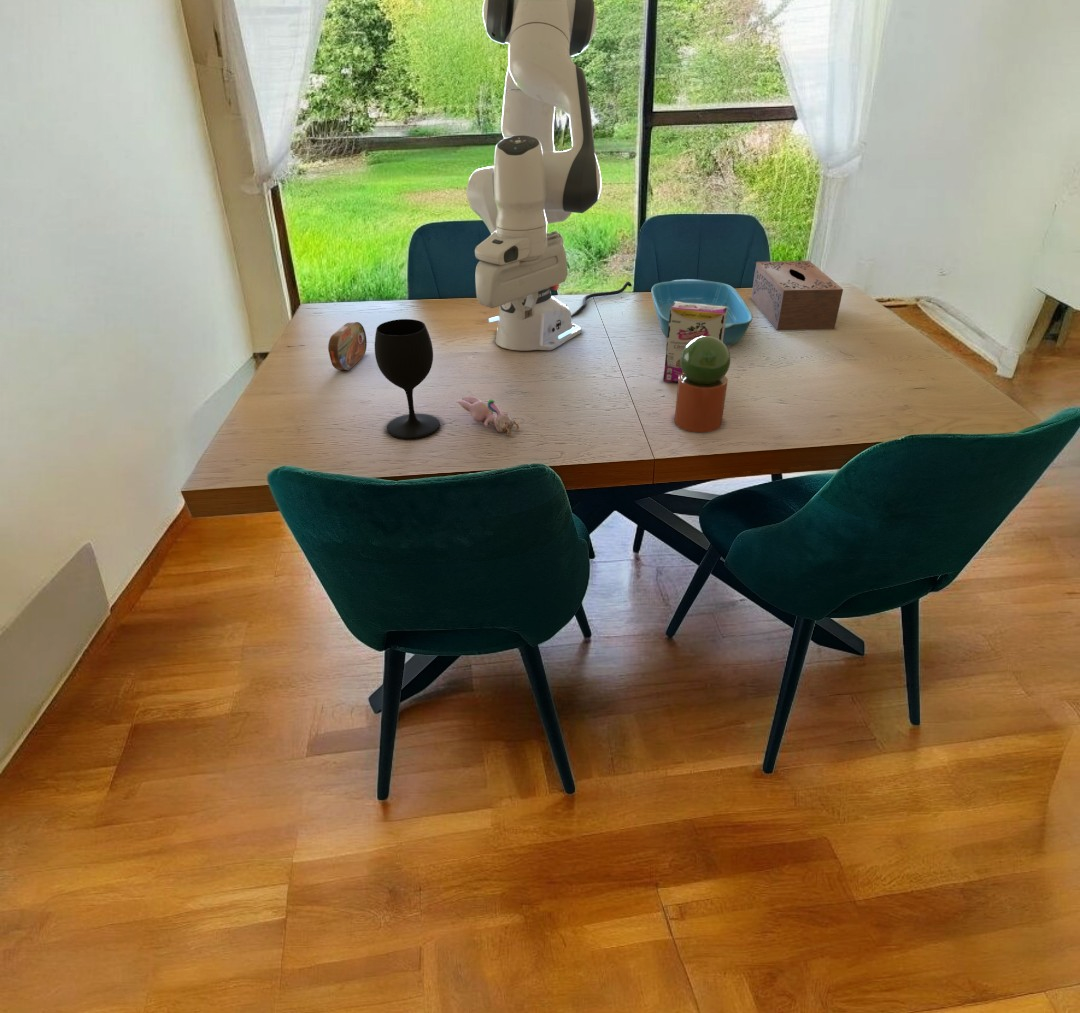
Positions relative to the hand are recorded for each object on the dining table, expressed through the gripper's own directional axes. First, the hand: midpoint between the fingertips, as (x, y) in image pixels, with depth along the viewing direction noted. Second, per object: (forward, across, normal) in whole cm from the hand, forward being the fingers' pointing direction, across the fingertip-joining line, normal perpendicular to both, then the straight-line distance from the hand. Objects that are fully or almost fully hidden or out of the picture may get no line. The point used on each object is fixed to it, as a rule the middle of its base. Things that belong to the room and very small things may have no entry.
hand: (525, 317), depth 134 cm
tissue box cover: (+22, -88, +10) cm, 92 cm away
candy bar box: (+20, -33, +16) cm, 42 cm away
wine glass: (+19, +21, -11) cm, 30 cm away
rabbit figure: (+19, +10, -2) cm, 22 cm away
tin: (+20, +10, -48) cm, 53 cm away
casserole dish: (+21, -62, -2) cm, 66 cm away
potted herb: (+19, -18, +28) cm, 39 cm away
